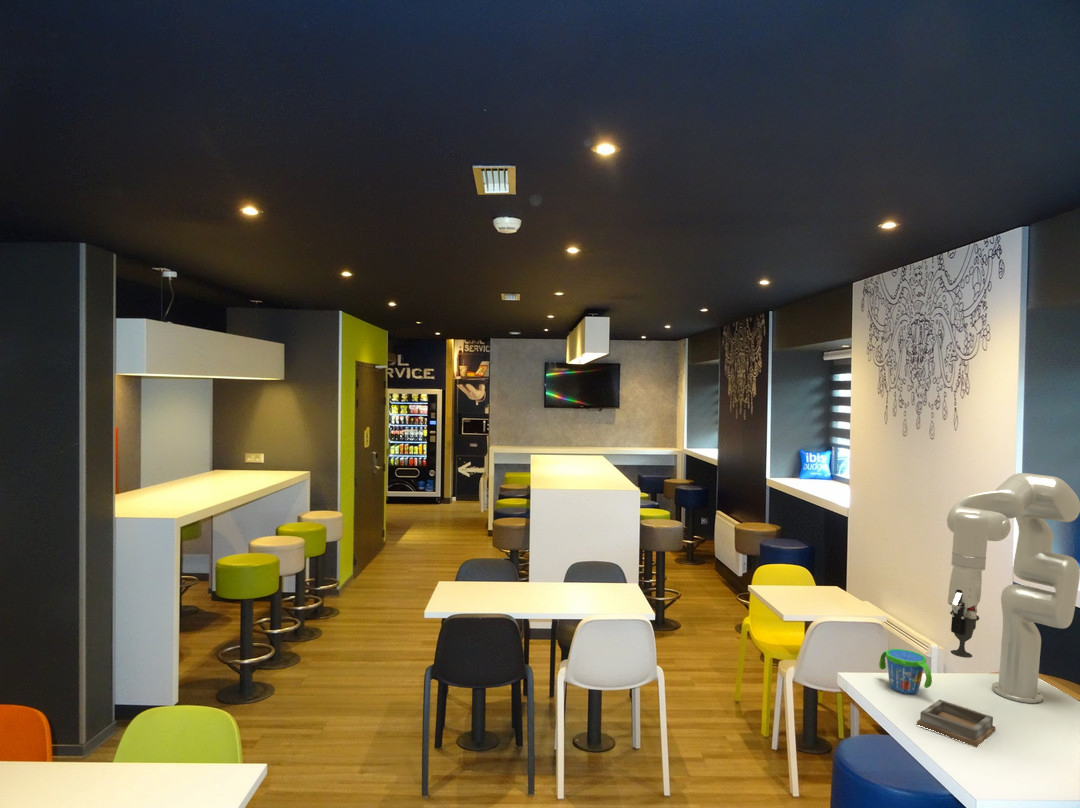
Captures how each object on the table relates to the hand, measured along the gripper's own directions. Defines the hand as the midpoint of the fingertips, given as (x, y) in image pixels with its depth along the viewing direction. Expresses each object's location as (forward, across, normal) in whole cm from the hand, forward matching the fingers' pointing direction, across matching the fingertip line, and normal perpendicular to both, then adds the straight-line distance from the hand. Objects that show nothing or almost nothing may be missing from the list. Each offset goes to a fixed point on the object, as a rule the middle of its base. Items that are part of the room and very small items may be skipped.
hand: (963, 630), depth 194 cm
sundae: (+6, 0, 0) cm, 6 cm away
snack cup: (+26, -15, -19) cm, 35 cm away
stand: (+26, 0, 0) cm, 26 cm away
